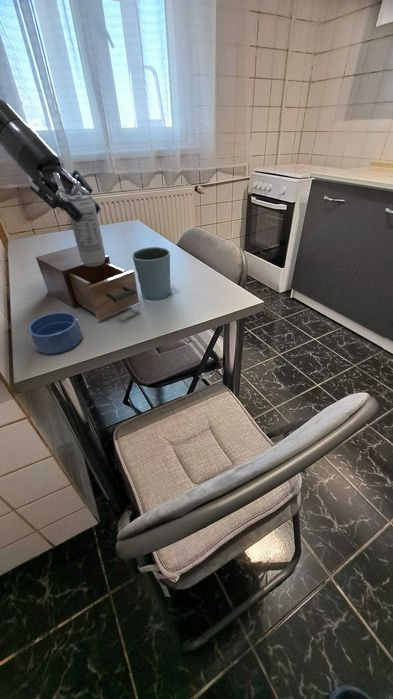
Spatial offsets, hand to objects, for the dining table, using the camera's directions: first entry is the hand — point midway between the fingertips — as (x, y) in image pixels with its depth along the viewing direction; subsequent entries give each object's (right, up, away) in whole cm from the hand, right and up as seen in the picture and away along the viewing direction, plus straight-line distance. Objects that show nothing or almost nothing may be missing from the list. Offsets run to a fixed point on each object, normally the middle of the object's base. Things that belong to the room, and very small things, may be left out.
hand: (89, 215), depth 67 cm
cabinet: (-10, -13, +22) cm, 28 cm away
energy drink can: (-1, -9, +7) cm, 12 cm away
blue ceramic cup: (+12, -14, +20) cm, 28 cm away
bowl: (-7, -29, +1) cm, 30 cm away
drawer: (0, -18, +13) cm, 23 cm away
